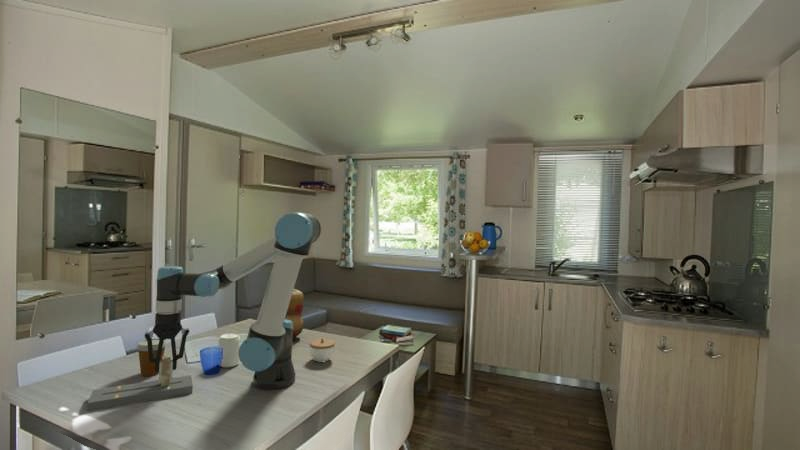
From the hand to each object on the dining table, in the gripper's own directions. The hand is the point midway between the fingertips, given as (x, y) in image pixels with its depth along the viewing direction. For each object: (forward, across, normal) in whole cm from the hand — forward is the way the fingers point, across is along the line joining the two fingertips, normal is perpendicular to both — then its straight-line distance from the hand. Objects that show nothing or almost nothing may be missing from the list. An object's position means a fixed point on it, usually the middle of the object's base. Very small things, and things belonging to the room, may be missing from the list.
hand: (165, 380), depth 129 cm
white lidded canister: (+4, -22, -17) cm, 28 cm away
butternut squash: (+4, -54, -42) cm, 68 cm away
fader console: (+4, +6, 0) cm, 7 cm away
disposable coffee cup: (+4, +5, -20) cm, 21 cm away
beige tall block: (+1, 0, 0) cm, 1 cm away
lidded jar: (+4, -58, -6) cm, 59 cm away
